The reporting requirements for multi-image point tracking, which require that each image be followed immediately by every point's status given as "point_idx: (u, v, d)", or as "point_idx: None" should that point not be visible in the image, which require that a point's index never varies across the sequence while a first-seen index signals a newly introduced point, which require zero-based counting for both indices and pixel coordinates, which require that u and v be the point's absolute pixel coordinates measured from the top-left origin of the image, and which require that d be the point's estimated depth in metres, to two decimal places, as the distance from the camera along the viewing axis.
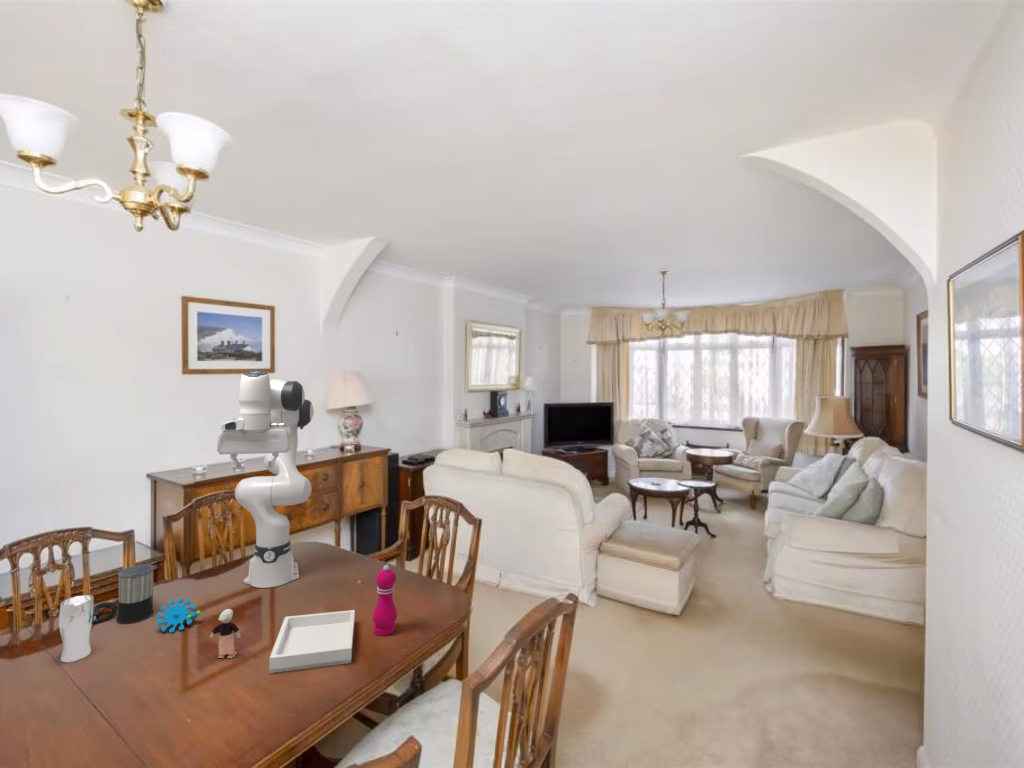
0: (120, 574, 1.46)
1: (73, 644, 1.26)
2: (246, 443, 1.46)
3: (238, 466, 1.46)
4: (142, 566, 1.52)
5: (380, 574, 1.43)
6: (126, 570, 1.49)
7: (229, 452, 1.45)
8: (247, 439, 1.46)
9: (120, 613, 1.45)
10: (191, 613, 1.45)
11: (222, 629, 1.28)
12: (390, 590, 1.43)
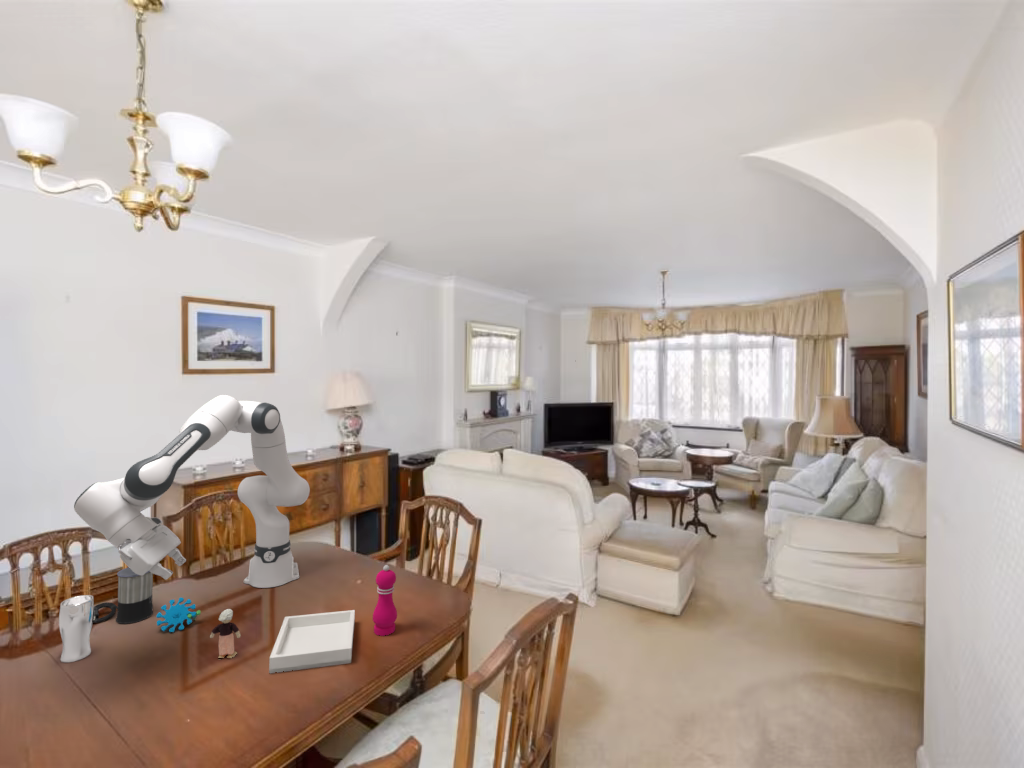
0: (119, 574, 1.45)
1: (73, 644, 1.26)
2: None
3: None
4: None
5: (380, 574, 1.43)
6: (125, 570, 1.49)
7: None
8: None
9: (119, 613, 1.45)
10: (191, 613, 1.45)
11: (222, 629, 1.28)
12: (390, 590, 1.43)
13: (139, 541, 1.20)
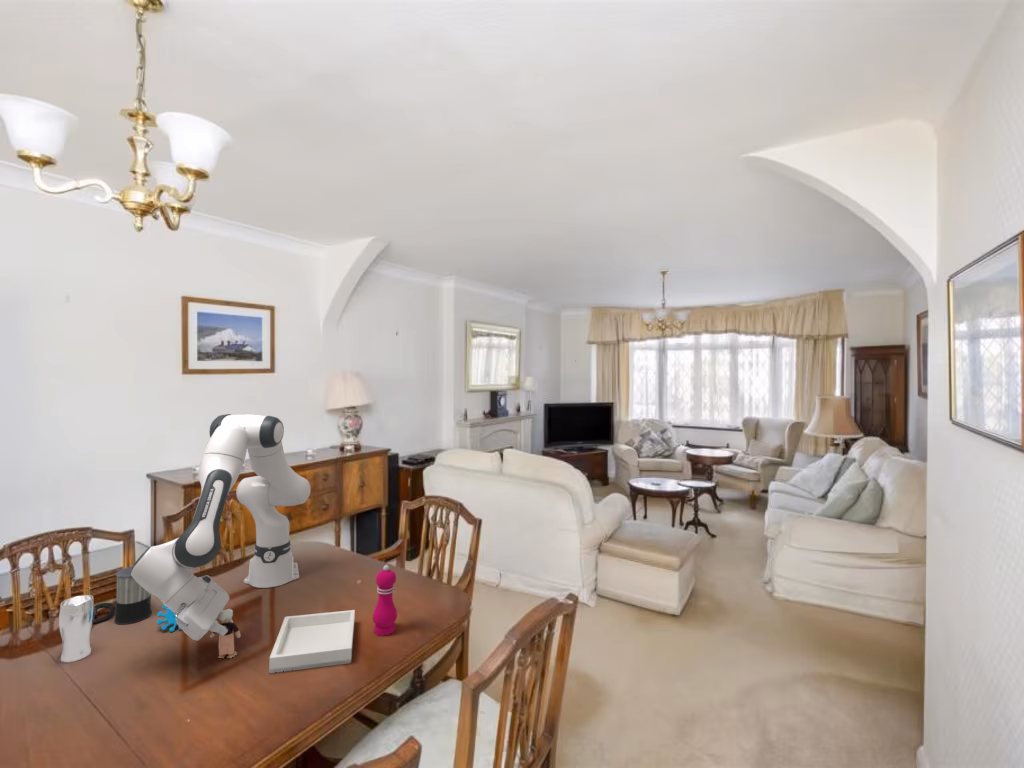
0: (118, 574, 1.45)
1: (73, 644, 1.26)
2: None
3: None
4: None
5: (380, 574, 1.43)
6: (124, 570, 1.48)
7: None
8: None
9: (117, 613, 1.45)
10: None
11: None
12: (390, 590, 1.43)
13: (193, 605, 1.23)
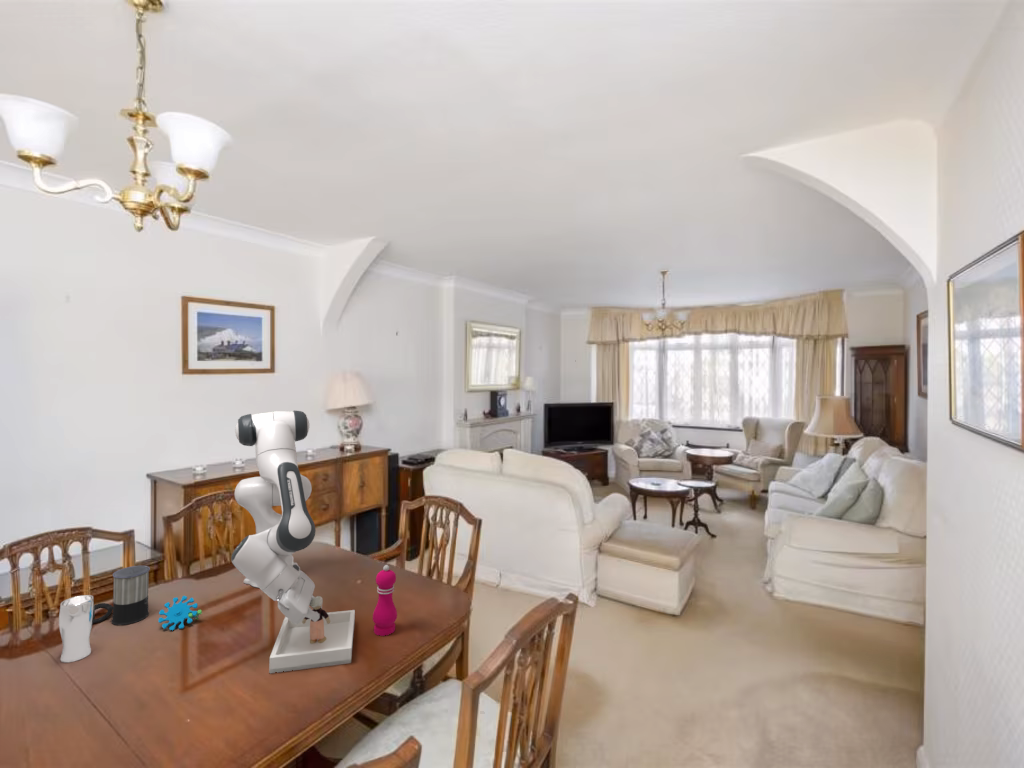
0: (115, 575, 1.45)
1: (73, 644, 1.26)
2: None
3: None
4: (138, 567, 1.51)
5: (380, 574, 1.43)
6: (121, 571, 1.48)
7: None
8: None
9: (114, 614, 1.44)
10: (192, 612, 1.46)
11: None
12: (390, 590, 1.43)
13: (290, 591, 1.29)
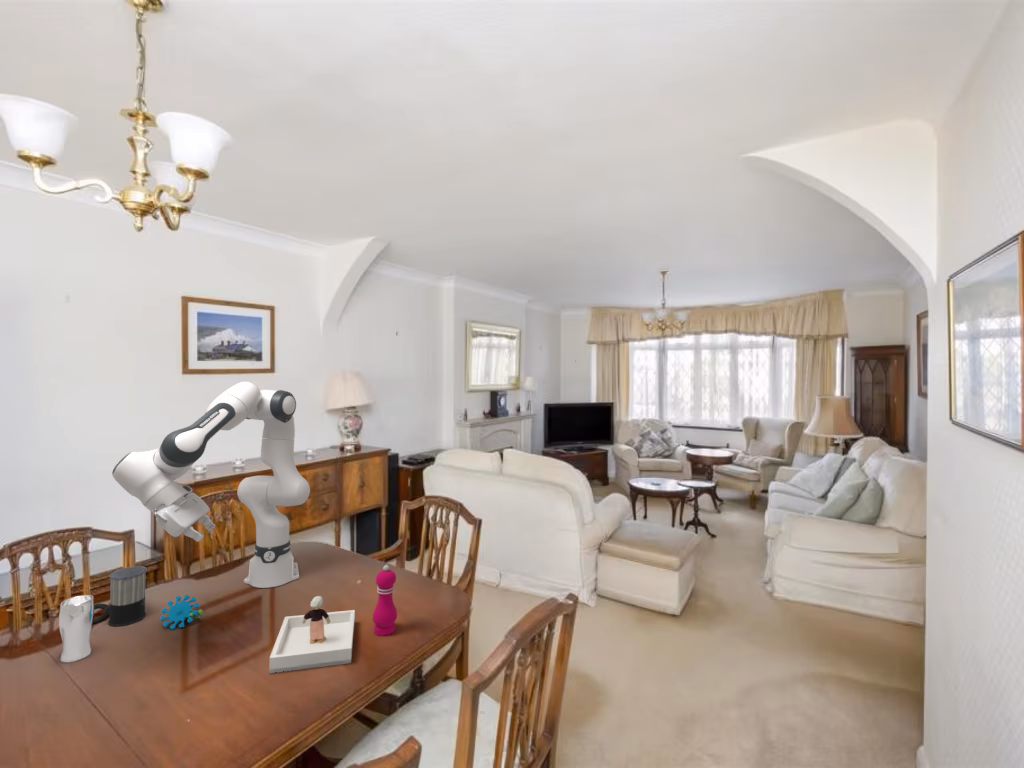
0: (111, 576, 1.44)
1: (73, 644, 1.26)
2: None
3: None
4: (135, 568, 1.50)
5: (380, 574, 1.43)
6: (118, 571, 1.47)
7: None
8: None
9: (111, 615, 1.44)
10: (193, 611, 1.46)
11: (314, 615, 1.35)
12: (390, 590, 1.43)
13: (172, 506, 1.28)
